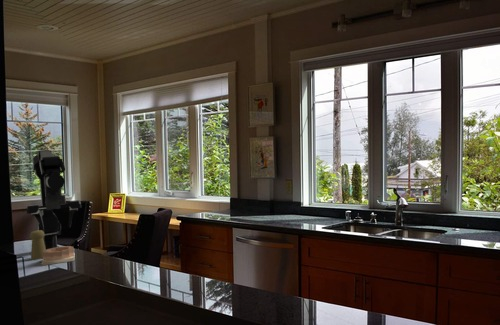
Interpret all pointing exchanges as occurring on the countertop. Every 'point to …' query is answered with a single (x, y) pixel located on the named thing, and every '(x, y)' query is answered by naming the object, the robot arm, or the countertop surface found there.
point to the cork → (37, 244)
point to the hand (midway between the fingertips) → (56, 229)
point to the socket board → (58, 255)
